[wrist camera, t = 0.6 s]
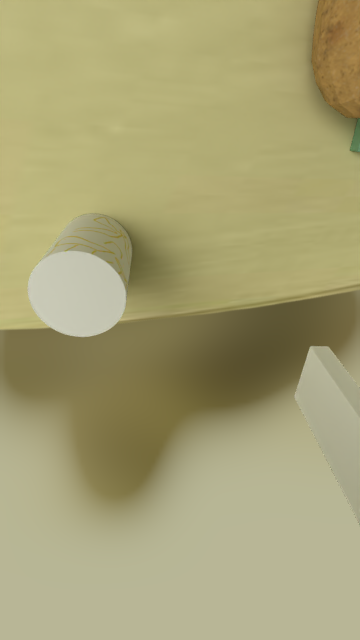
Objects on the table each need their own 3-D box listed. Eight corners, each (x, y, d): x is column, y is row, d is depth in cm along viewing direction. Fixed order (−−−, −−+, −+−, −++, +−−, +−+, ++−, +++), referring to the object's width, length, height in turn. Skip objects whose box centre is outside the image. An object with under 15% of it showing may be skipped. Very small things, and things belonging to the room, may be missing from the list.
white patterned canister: (145, 241, 39) (144, 285, 29) (109, 293, 43) (96, 350, 32) (81, 198, 37) (55, 230, 26) (47, 258, 40) (11, 308, 29)
